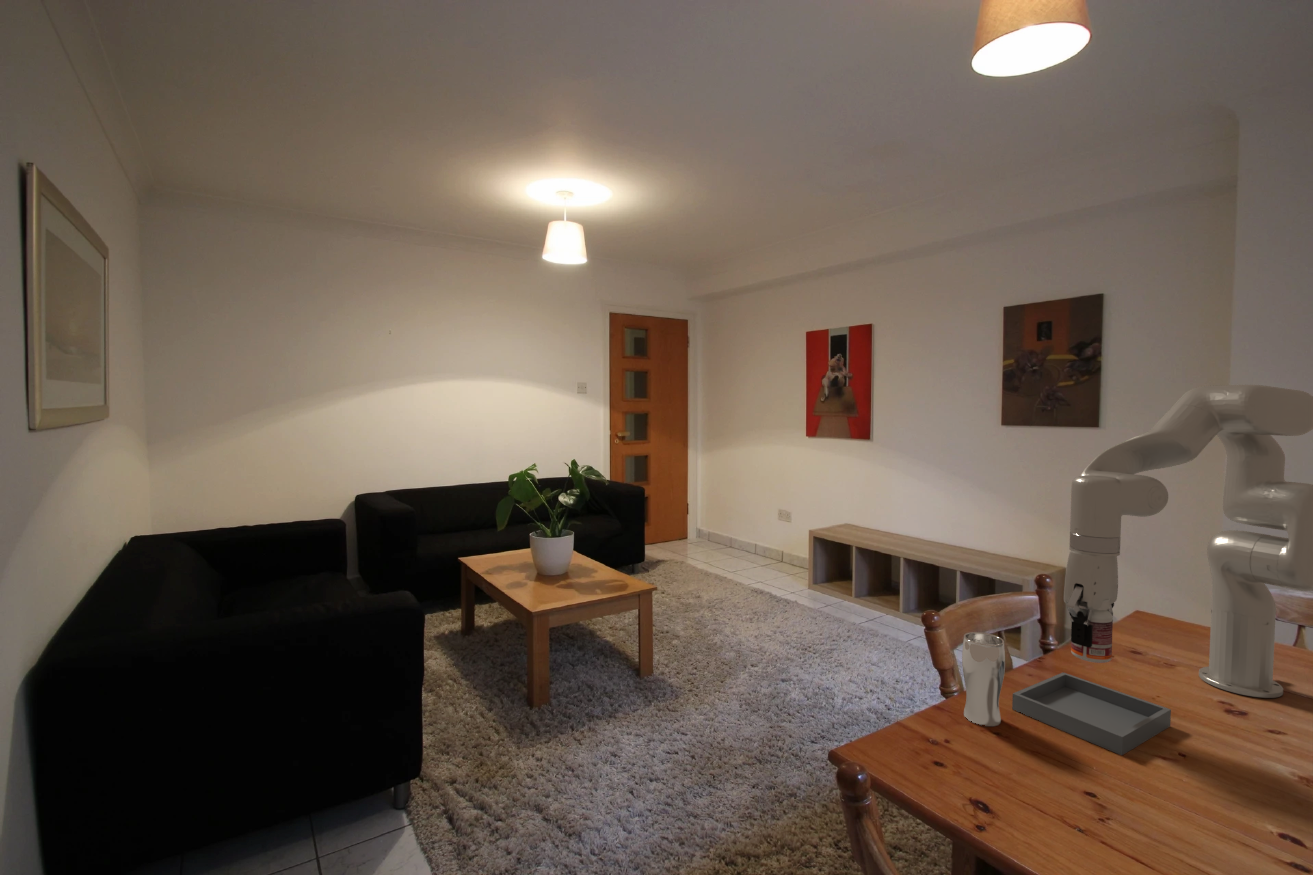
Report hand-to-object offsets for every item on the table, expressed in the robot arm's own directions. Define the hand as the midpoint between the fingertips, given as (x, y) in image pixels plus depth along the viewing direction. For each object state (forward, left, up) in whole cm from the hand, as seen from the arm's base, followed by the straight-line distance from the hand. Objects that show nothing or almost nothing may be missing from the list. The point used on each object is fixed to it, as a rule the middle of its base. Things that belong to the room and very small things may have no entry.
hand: (1091, 640), depth 113 cm
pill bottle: (0, 0, -3) cm, 3 cm away
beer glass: (+17, -10, -15) cm, 25 cm away
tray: (0, 0, -14) cm, 15 cm away
